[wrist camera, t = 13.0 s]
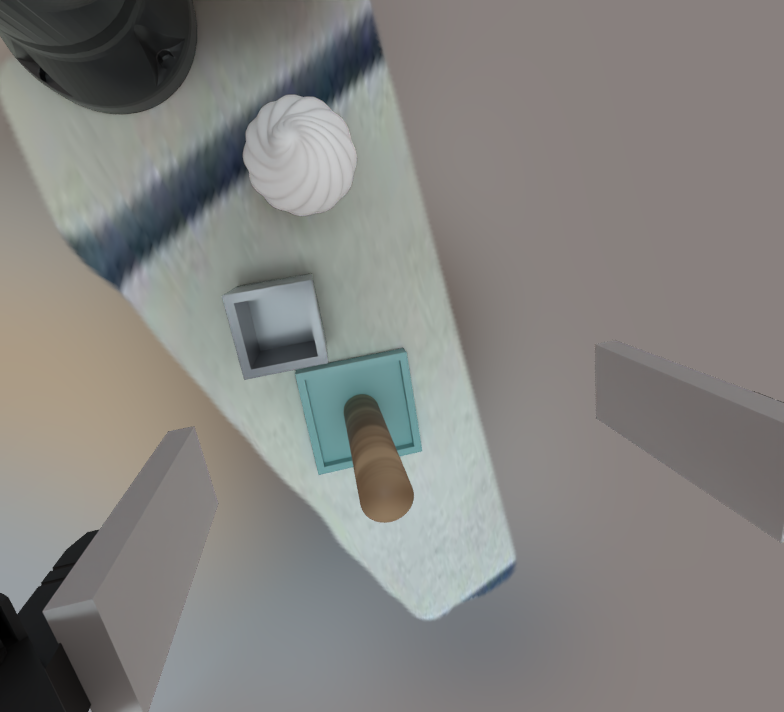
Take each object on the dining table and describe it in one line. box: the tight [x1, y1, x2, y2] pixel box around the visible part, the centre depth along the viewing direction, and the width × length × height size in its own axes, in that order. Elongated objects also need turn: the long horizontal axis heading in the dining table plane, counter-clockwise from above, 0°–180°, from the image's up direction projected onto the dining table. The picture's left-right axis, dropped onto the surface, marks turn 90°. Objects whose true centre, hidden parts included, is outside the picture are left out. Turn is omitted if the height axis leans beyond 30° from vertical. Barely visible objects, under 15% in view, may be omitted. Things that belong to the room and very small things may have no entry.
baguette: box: [344, 394, 414, 523], centre depth 42 cm, size 4×4×18 cm
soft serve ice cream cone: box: [243, 95, 357, 216], centre depth 36 cm, size 8×8×16 cm
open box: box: [222, 273, 329, 380], centre depth 43 cm, size 8×8×8 cm
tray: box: [295, 348, 422, 475], centre depth 50 cm, size 12×12×2 cm
